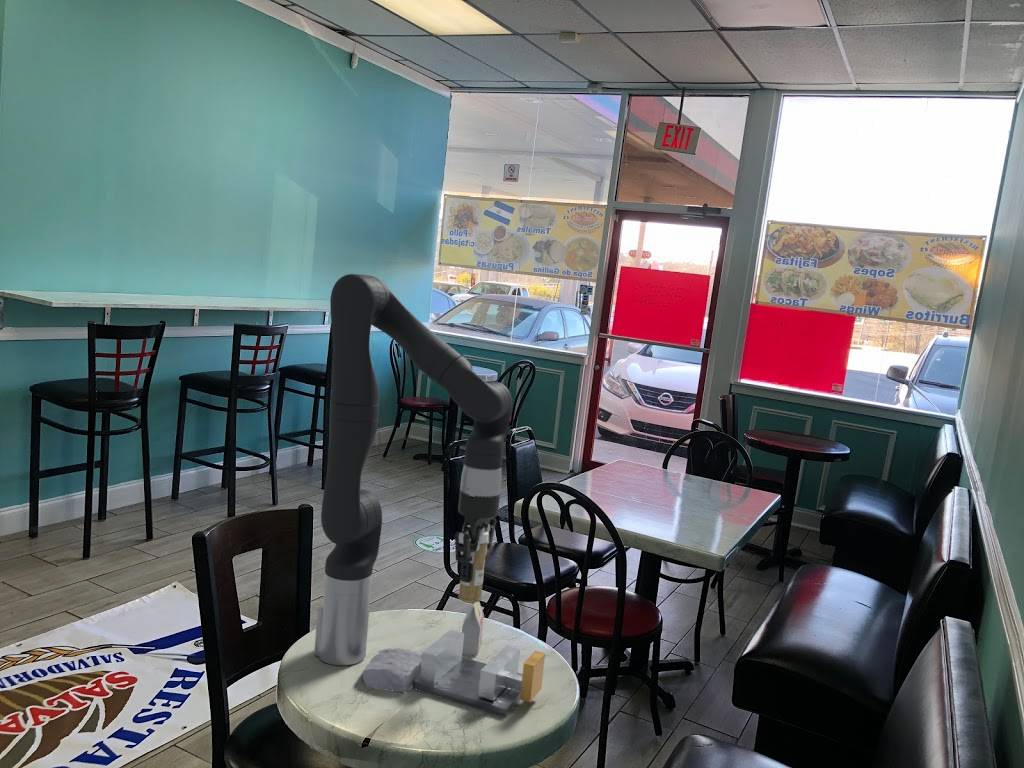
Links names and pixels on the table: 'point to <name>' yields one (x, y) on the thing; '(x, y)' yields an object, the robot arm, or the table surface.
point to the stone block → (393, 669)
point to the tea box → (473, 630)
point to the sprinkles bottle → (475, 575)
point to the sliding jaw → (512, 674)
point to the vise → (459, 677)
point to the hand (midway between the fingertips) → (471, 577)
